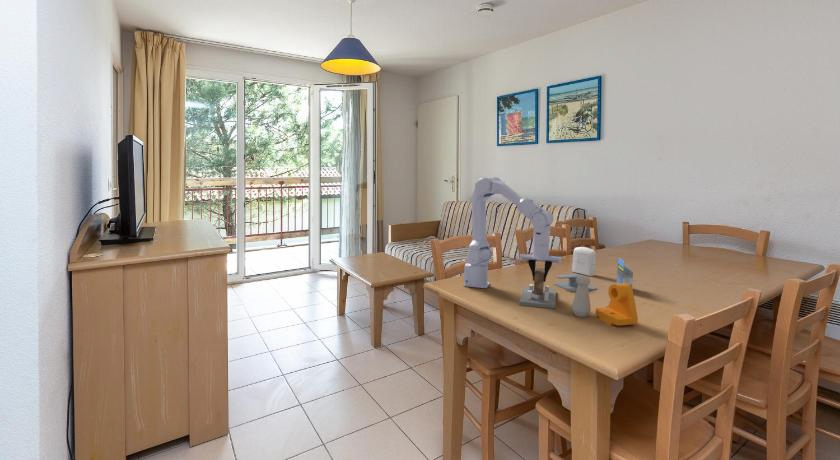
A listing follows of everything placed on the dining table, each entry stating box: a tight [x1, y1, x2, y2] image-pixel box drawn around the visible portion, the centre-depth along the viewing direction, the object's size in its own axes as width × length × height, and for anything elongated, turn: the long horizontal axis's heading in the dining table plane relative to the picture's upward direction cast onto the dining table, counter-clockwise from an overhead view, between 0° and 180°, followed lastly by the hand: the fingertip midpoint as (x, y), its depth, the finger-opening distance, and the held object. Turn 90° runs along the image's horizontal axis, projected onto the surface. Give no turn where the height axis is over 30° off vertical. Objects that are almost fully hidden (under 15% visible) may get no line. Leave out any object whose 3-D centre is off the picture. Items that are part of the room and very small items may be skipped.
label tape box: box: [616, 257, 634, 288], centre depth 167 cm, size 9×4×12 cm, turn 168°
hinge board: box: [519, 283, 557, 309], centre depth 155 cm, size 12×20×4 cm, turn 162°
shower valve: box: [553, 273, 598, 293], centre depth 171 cm, size 12×6×15 cm
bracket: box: [595, 283, 639, 326], centre depth 132 cm, size 11×7×12 cm, turn 15°
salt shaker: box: [571, 275, 591, 318], centre depth 137 cm, size 6×6×13 cm
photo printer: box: [571, 246, 597, 277], centre depth 192 cm, size 10×4×12 cm, turn 36°
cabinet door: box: [533, 267, 545, 295], centre depth 154 cm, size 4×12×7 cm, turn 162°
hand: (539, 280), depth 154 cm, fingers closed on cabinet door, 3 cm apart
